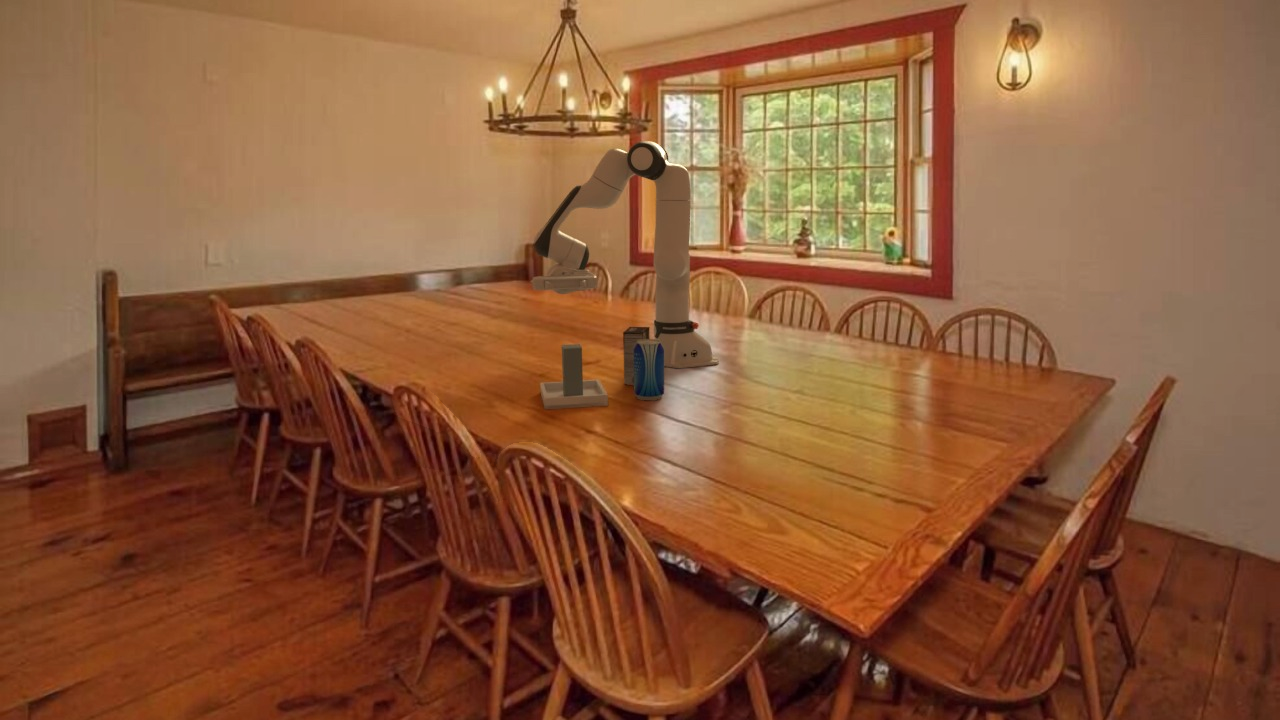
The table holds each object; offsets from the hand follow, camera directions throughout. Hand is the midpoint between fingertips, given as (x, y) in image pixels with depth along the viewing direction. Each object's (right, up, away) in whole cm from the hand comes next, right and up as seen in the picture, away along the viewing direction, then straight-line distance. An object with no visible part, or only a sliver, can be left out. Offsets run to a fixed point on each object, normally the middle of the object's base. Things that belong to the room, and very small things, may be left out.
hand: (566, 285), depth 240 cm
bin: (+4, -34, -21) cm, 40 cm away
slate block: (+4, -33, -21) cm, 39 cm away
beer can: (+25, -33, -20) cm, 46 cm away
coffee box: (+21, -29, -3) cm, 36 cm away
